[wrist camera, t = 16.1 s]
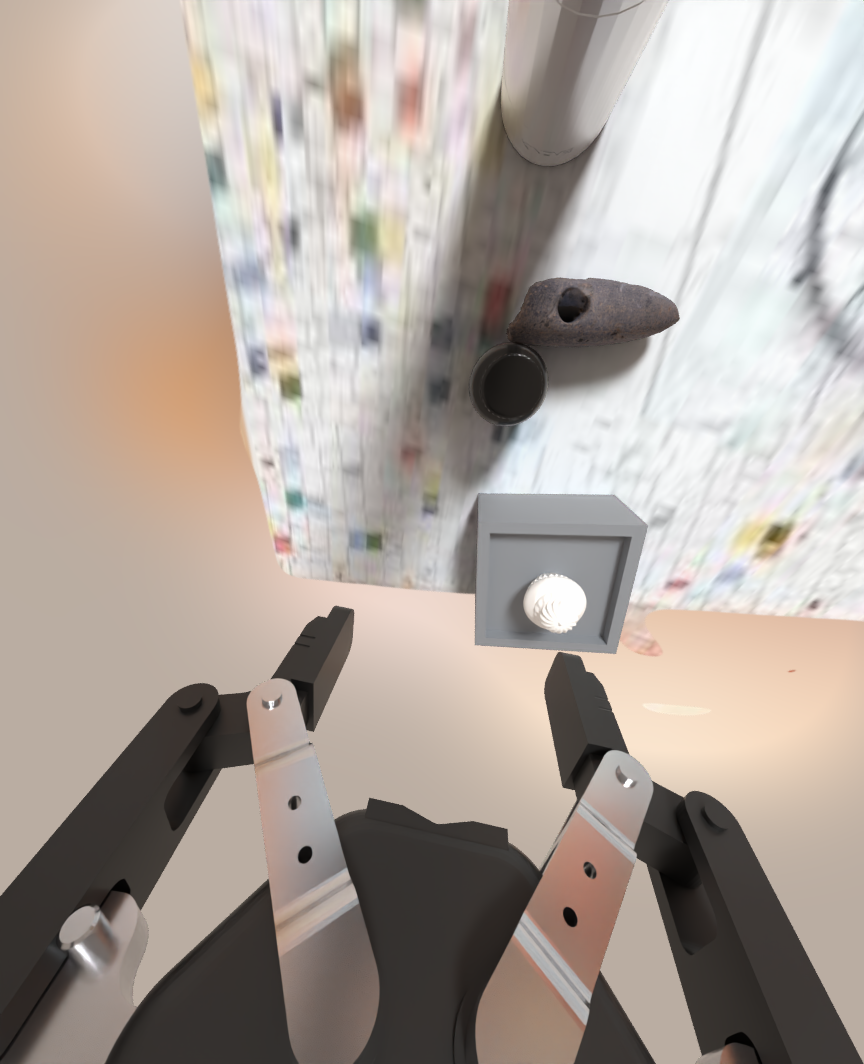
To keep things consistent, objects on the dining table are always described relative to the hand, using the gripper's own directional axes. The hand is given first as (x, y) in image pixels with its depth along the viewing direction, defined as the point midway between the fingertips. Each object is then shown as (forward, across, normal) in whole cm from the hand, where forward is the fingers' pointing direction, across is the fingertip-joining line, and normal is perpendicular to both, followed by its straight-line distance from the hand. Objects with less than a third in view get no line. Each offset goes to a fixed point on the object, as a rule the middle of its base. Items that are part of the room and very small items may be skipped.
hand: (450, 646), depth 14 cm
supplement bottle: (+32, -2, -8) cm, 33 cm away
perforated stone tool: (+32, -8, -15) cm, 36 cm away
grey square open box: (+31, -11, +11) cm, 35 cm away
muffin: (+24, -11, +11) cm, 28 cm away
